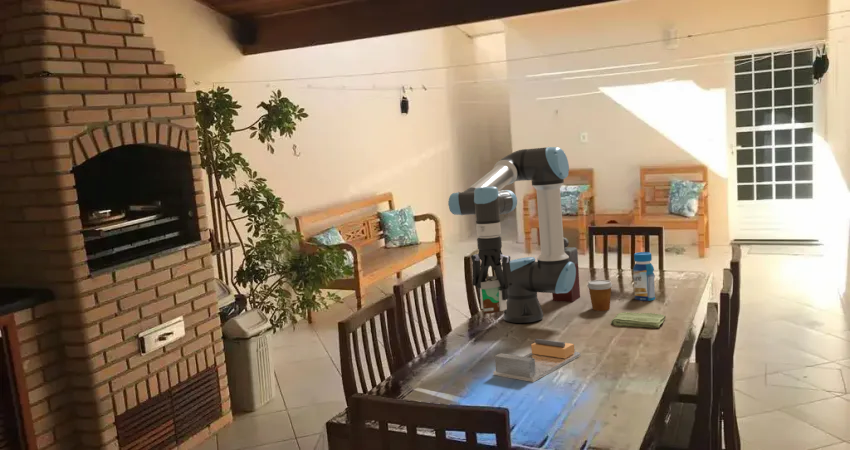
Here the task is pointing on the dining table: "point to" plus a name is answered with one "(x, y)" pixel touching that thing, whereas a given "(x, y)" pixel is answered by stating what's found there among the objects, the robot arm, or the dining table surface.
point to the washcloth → (638, 319)
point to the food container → (490, 295)
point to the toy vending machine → (575, 290)
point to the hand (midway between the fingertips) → (493, 308)
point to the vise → (529, 365)
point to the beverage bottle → (643, 277)
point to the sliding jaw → (552, 348)
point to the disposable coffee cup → (600, 294)
